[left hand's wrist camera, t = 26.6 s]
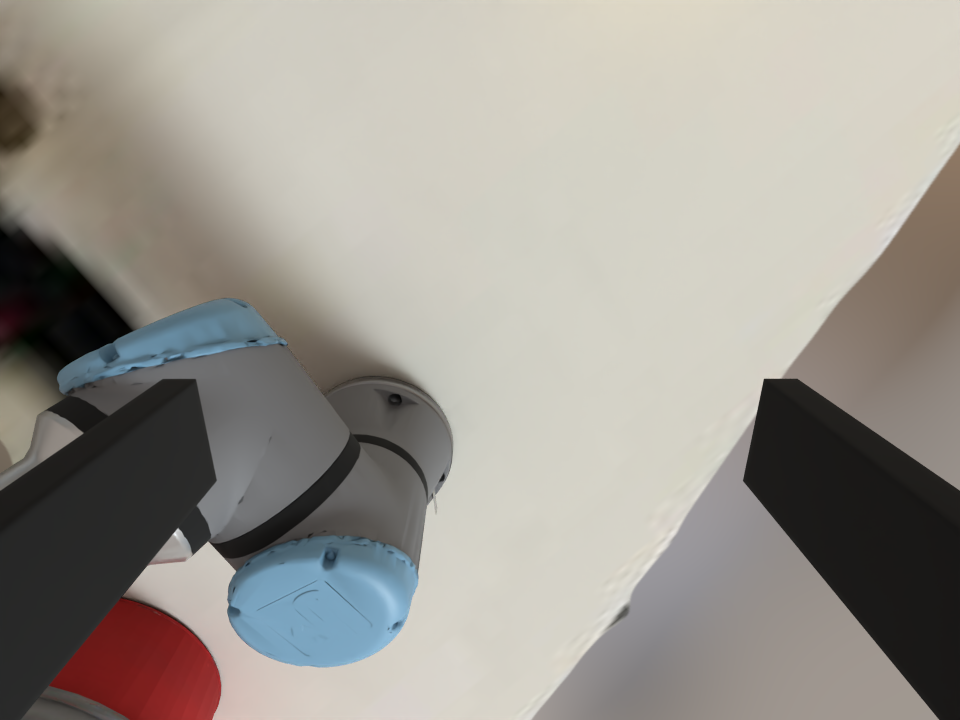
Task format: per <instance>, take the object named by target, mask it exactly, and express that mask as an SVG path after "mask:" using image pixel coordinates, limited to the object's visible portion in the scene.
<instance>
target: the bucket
mask: <svg viewBox="0 0 960 720" xmlns="http://www.w3.org/2000/svg"><path fill="white" fill-rule="evenodd" d="M220 696H221V681H220V675H219V671H218V669H217V666H216V664H215V661H214V660H213V658H212V656H211V655H210V653H209V651H208V650H207V649H206V647H205V646H204V645H203V644H202V643H201V641H200V640H199V639H198V638H197V637H196V636H195V635H194V634H193V633H191V632H190V631H189V630H188V629H187V628H186V627H184V626H183V625H182V624H180V623H179V622H177V621H176V620H174V619H172V618H171V617H169V616H167V615H166V614H164V613H162V612H160V611H158V610H156V609H153V608H151V607H148V606H146V605H143V604H141V603H137V602H134V601H130V600H126V599H122V598H120V599H119V601H118V602H117V603H116V604H115V606H114V607H113V608H112V609H111V610H110V612H109V613H108V614H107V615H106V616H105V618H104V619H103V620H102V621H101V623H100V624H99V625H98V626H97V627H96V629H95V630H94V631H93V632H92V634H91V635H90V636H89V637H88V638H87V640H86V641H85V642H84V643H83V644H82V646H81V647H80V648H79V649H78V651H77V652H76V653H75V654H74V655H73V657H72V658H71V659H70V660H69V662H68V663H67V664H66V665H65V666H64V668H63V669H62V670H61V671H60V672H59V674H58V675H57V676H56V677H55V679H54V680H53V681H52V682H51V683H50V685H49V686H48V687H47V688H46V690H45V691H44V692H43V693H42V694H41V696H40V697H39V698H38V699H37V700H36V702H35V703H34V704H33V705H32V707H31V708H30V709H29V710H28V711H27V713H26V714H25V715H24V716H23V718H22V719H21V720H212V718H213V716H214V713H215V711H216V709H217V707H218V704H219V700H220Z"/></svg>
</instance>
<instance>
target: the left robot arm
mask: <svg viewBox="0 0 960 720" xmlns="http://www.w3.org/2000/svg"><path fill="white" fill-rule="evenodd" d="M287 345H288V343H287V342H286V341H285V340H284V339H283V338H281V337H278V336H277V335H276V333H275V332H274V331H273V330H272V329H271V327H270V326H269V325H268V324H267V323H266V321H265V320H264V319H263V318H262V317H261V315H260V314H259V313H258V312H257V311H256V310H255V308H254V307H252V306H251V305H250V304H248V303H247V302H245V301H242V300H239V299H234V298H224V299H217V300H213V301H209V302H206V303H203V304H200V305H197V306H194V307H192V308H189V309H186V310H183V311H181V312H178V313H176V314H173V315H171V316H168V317H166V318H163V319H161V320H158V321H156V322H154V323H151V324H149V325H147V326H145V327H142V328H140V329H138V330H136V331H133V332H131V333H129V334H127V335H125V336H123V337H121V338H119V339H117V340H116V341H115V342H114V343H113V344H108V345H106V346H104V347H102V348H100V349H98V350H95V351H93V352H90V353H88V354H86V355H84V356H82V357H80V358H79V359H77V360H75V361H74V362H72V363H70V364H69V365H67V366H66V367H64V368H63V369H62V370H61V371H60V372H59V374H58V377H57V380H58V382H59V385H60V387H59V390H60V391H61V392H62V393H63V394H66V395H67V396H68V397H67V398H65V399H63V400H62V401H60V402H58V403H57V404H55V405H53V406H52V407H50V408H48V409H47V410H45V411H44V412H42V413H40V414H39V415H38V416H37V418H36V423H35V428H34V432H33V437H32V442H31V446H30V448H29V450H28V452H27V454H26V455H25V457H24V458H23V459H22V460H20V461H19V462H17V463H16V464H14V465H13V466H11V467H9V468H8V469H6V470H5V471H3V472H2V473H0V720H21V719H22V718H23V716H24V715H25V714H26V713H27V711H28V710H29V709H30V708H31V707H32V705H33V704H34V703H35V702H36V700H37V699H38V698H39V697H40V696H41V694H42V693H43V692H44V691H45V690H46V688H47V687H48V686H49V685H50V683H51V682H52V681H53V680H54V679H55V677H56V676H57V675H58V674H59V672H60V671H61V670H62V669H63V668H64V666H65V665H66V664H67V663H68V662H69V660H70V659H71V658H72V657H73V655H74V654H75V653H76V652H77V651H78V649H79V648H80V647H81V646H82V644H83V643H84V642H85V641H86V640H87V638H88V637H89V636H90V635H91V634H92V632H93V631H94V630H95V629H96V627H97V626H98V625H99V624H100V623H101V621H102V620H103V619H104V618H105V616H106V615H107V614H108V613H109V612H110V610H111V609H112V608H113V607H114V606H115V604H116V603H117V602H118V601H119V599H120V598H121V597H122V596H123V595H124V593H125V592H126V591H127V590H128V588H129V587H130V586H131V585H132V584H133V582H134V581H135V580H136V579H137V578H138V576H139V575H140V574H141V573H142V571H143V570H144V569H145V568H146V567H147V566H148V565H152V564H163V563H173V562H184V561H186V560H188V559H189V558H190V557H191V556H193V555H194V554H195V553H196V552H197V551H198V550H199V549H200V548H201V547H202V546H203V545H204V544H205V543H206V542H209V543H210V544H211V545H212V546H213V547H214V548H215V549H216V550H217V551H218V552H219V553H220V554H221V555H222V556H223V557H224V558H225V560H226V561H227V562H228V563H229V564H230V565H231V566H232V567H233V568H234V569H235V570H236V574H235V575H234V576H233V577H232V580H231V582H230V584H229V588H228V599H227V600H228V603H229V607H228V610H227V613H228V617H229V620H230V623H231V625H232V627H233V628H234V630H235V631H236V633H237V634H238V636H239V637H240V638H241V639H242V640H243V641H244V642H245V643H246V644H248V645H249V646H250V647H252V648H253V649H255V650H256V651H257V652H259V653H261V654H263V655H265V656H267V657H269V658H272V659H274V660H277V661H280V662H283V663H287V664H292V665H296V666H313V667H334V666H341V665H346V664H350V663H353V662H357V661H359V660H362V659H364V658H367V657H369V656H371V655H373V654H375V653H377V652H378V651H380V650H381V649H383V648H384V647H385V646H386V645H388V644H389V643H390V642H391V641H392V640H393V639H394V638H395V637H396V636H397V634H398V633H399V632H400V630H401V629H402V627H403V625H404V623H405V621H406V619H407V616H408V613H409V609H410V605H411V600H412V596H413V595H414V592H415V589H416V587H417V585H418V568H419V561H420V553H421V546H422V538H423V530H424V523H425V515H426V508H427V505H428V504H429V503H430V501H431V500H432V499H434V505H435V512H436V513H437V503H436V496H435V495H436V494H437V492H438V491H439V490H440V488H441V487H442V485H443V484H444V482H445V480H446V478H447V476H448V474H449V471H450V468H451V463H452V454H453V437H452V432H451V428H450V425H449V423H448V420H447V418H446V416H445V415H444V413H443V411H442V410H441V409H440V407H439V406H438V405H437V404H436V403H435V401H434V400H433V399H431V398H430V397H429V396H428V395H427V394H426V393H424V392H423V391H421V390H420V389H418V388H416V387H415V386H413V385H411V384H409V383H406V382H403V381H400V380H397V379H393V378H388V377H362V378H357V379H353V380H350V381H347V382H344V383H342V384H340V385H338V386H336V387H335V388H333V389H332V390H330V391H329V392H328V393H326V394H325V395H323V394H322V393H321V391H320V390H319V389H318V387H317V386H316V385H315V383H314V382H313V381H312V379H311V378H310V377H309V375H308V374H307V373H306V371H305V370H304V369H303V367H302V366H301V365H300V363H299V362H298V361H297V359H296V358H295V357H294V355H293V354H292V353H291V351H290V350H289V349H288V347H287ZM743 481H744V483H745V484H746V485H747V486H748V487H749V489H750V490H751V491H752V492H753V493H754V495H755V496H756V497H757V498H758V500H759V501H760V502H761V503H762V504H763V506H764V507H765V508H766V509H767V511H768V512H769V513H770V514H771V515H772V517H773V518H774V519H775V520H776V522H777V523H778V524H779V525H780V526H781V528H782V529H783V530H784V531H785V532H786V534H787V535H788V536H789V537H790V539H791V540H792V541H793V542H794V543H795V545H796V546H797V547H798V548H799V550H800V551H801V552H802V553H803V554H804V556H805V557H806V558H807V559H808V560H809V562H810V563H811V564H812V565H813V567H814V568H815V569H816V570H817V571H818V573H819V574H820V575H821V576H822V578H823V579H824V580H825V581H826V582H827V584H828V585H829V586H830V587H831V588H832V590H833V591H834V592H835V593H836V595H837V596H838V597H839V598H840V599H841V601H842V602H843V603H844V604H845V606H846V607H847V608H848V609H849V610H850V612H851V613H852V614H853V615H854V616H855V618H856V619H857V620H858V621H859V623H860V624H861V625H862V626H863V627H864V629H865V630H866V631H867V632H868V634H869V635H870V636H871V637H872V638H873V640H874V641H875V642H876V643H877V644H878V646H879V647H880V648H881V649H882V651H883V652H884V653H885V654H886V655H887V657H888V658H889V659H890V660H891V661H892V663H893V664H894V665H895V666H896V668H897V669H898V670H899V671H900V672H901V674H902V675H903V676H904V677H905V679H906V680H907V681H908V682H909V683H910V685H911V686H912V687H913V688H914V690H915V691H916V692H917V693H918V694H919V696H920V697H921V698H922V699H923V700H924V702H925V703H926V704H927V705H928V707H929V708H930V709H931V710H932V711H933V713H934V714H935V715H936V716H937V717H938V719H939V720H960V491H959V490H958V489H957V488H955V487H954V486H952V485H951V484H949V483H948V482H946V481H945V480H944V479H942V478H941V477H939V476H938V475H936V474H935V473H933V472H932V471H930V470H929V469H927V468H926V467H925V466H923V465H922V464H920V463H919V462H917V461H916V460H914V459H913V458H911V457H910V456H909V455H907V454H906V453H904V452H903V451H901V450H900V449H898V448H897V447H895V446H894V445H893V444H891V443H890V442H888V441H887V440H885V439H884V438H882V437H881V436H880V435H878V434H877V433H875V432H874V431H872V430H871V429H869V428H868V427H866V426H865V425H864V424H862V423H861V422H859V421H858V420H856V419H855V418H853V417H852V416H850V415H849V414H848V413H846V412H845V411H843V410H842V409H840V408H839V407H837V406H836V405H834V404H833V403H832V402H830V401H829V400H827V399H826V398H824V397H823V396H821V395H820V394H819V393H817V392H816V391H814V390H813V389H811V388H810V387H808V386H807V385H805V384H804V383H803V382H801V381H800V380H798V379H764V381H763V386H762V391H761V396H760V401H759V406H758V411H757V415H756V420H755V425H754V430H753V435H752V440H751V445H750V450H749V455H748V459H747V464H746V469H745V474H744V479H743Z"/></svg>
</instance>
